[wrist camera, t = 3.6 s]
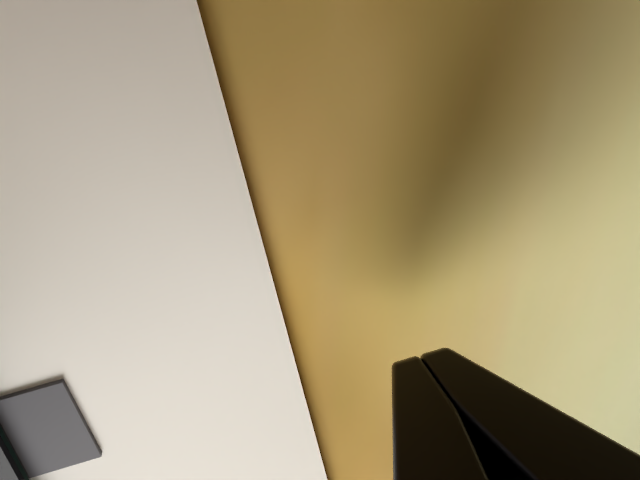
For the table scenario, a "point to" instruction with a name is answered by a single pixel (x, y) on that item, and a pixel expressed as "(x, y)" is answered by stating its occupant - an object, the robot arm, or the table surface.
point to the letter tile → (134, 258)
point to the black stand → (10, 460)
